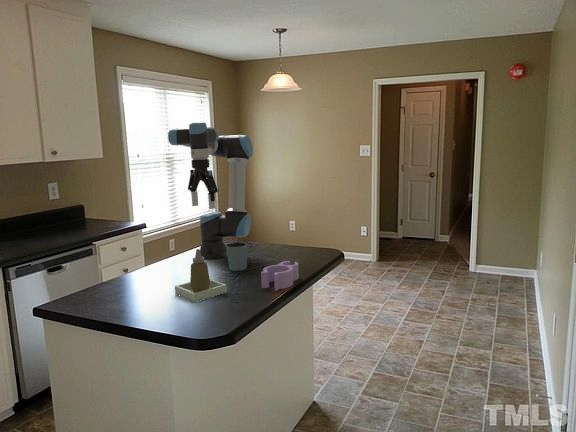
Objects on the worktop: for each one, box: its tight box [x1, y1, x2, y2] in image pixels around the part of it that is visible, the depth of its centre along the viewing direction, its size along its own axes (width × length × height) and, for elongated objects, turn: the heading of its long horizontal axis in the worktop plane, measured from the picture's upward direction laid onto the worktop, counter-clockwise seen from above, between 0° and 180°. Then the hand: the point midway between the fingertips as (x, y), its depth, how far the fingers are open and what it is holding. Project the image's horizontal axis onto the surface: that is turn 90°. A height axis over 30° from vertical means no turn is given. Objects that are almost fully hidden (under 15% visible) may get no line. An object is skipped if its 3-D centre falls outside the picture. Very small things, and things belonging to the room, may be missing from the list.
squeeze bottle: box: [189, 248, 211, 293], centre depth 187 cm, size 8×8×18 cm
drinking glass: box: [225, 241, 248, 272], centre depth 222 cm, size 10×10×12 cm
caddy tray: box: [174, 278, 228, 303], centre depth 188 cm, size 15×15×4 cm
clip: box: [260, 260, 300, 291], centre depth 199 cm, size 20×12×7 cm, turn 149°
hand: (203, 207), depth 204 cm, fingers open, 13 cm apart
